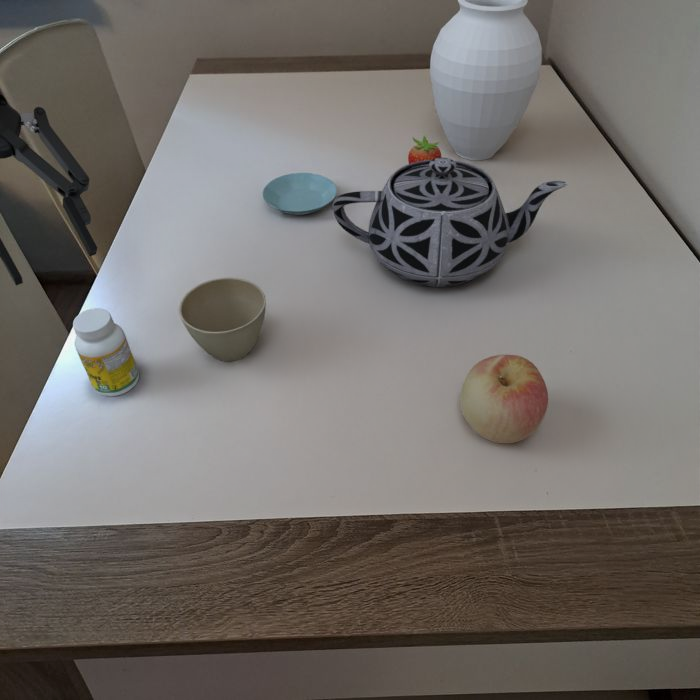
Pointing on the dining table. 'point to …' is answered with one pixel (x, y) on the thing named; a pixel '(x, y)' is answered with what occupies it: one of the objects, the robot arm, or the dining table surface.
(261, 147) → the dining table surface
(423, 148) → the fruit
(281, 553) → the dining table surface
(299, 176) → the saucer
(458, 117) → the vase
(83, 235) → the robot arm
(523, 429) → the apple
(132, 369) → the supplement bottle
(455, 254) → the teapot
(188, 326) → the bowl
